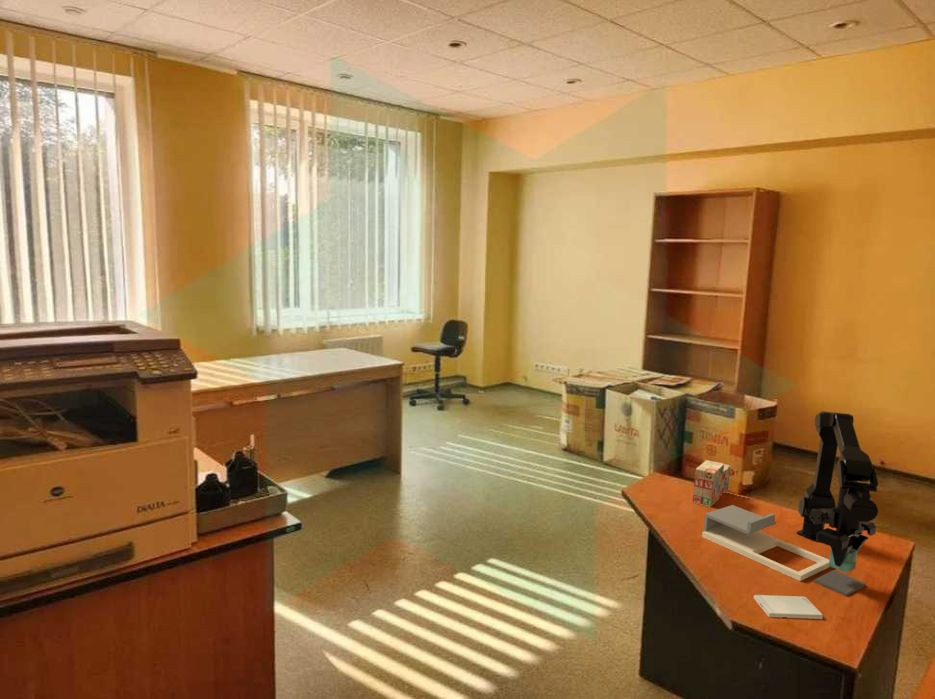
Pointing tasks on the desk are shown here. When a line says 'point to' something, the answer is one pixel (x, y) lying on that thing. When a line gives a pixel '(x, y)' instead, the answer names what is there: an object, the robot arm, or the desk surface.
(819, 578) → the mat
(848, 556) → the block
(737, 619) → the desk surface
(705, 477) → the stack of blocks
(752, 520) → the cover
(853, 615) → the desk surface
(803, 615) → the hard drive
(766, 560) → the white flat frame
